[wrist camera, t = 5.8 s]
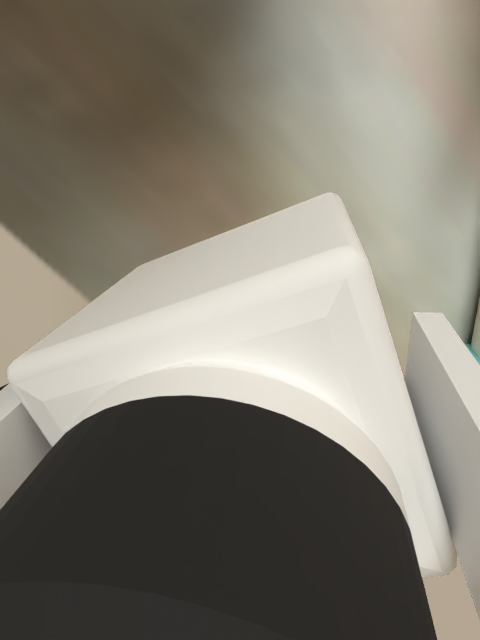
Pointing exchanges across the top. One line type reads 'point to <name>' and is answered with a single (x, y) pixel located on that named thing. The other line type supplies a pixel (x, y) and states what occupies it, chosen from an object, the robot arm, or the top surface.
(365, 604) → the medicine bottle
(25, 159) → the top surface
